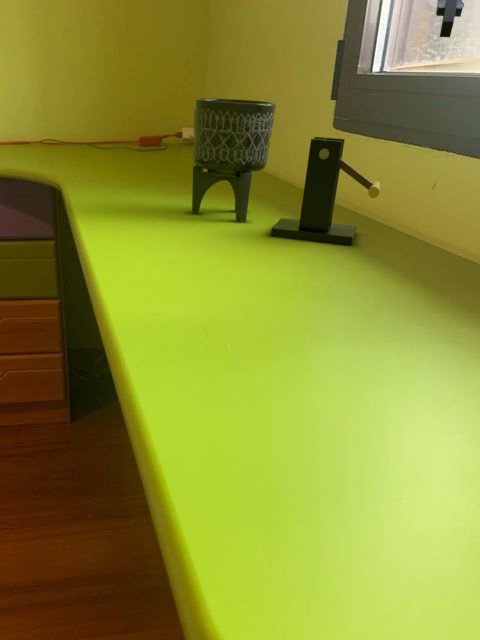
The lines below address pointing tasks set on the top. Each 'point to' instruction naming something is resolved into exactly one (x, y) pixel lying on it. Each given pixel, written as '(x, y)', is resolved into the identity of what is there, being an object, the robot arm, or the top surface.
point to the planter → (230, 146)
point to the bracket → (319, 198)
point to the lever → (361, 179)
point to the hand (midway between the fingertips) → (446, 29)
